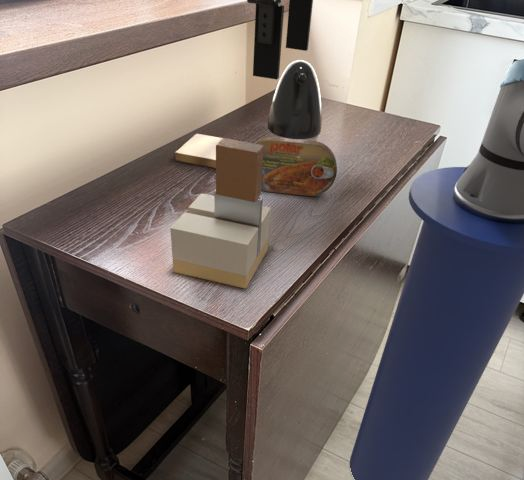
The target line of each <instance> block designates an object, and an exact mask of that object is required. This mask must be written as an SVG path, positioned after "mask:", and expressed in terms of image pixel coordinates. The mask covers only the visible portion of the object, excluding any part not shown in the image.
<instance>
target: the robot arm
mask: <svg viewBox="0 0 524 480" xmlns="http://www.w3.org/2000/svg"><path fill="white" fill-rule="evenodd" d="M246 2H247V4H254V5H255V14H254V15H255V16H254V37H253V63H252V76H253V77H258V78H263V79H272V80H278V79H279V78H280V68H281V55H282V40H283V30H284V29H283V28H284V16H285V15H284V13H285V5H283V4H282V2H283V0H246ZM313 4H314V0H289V3H288V12H287V13H288V15H287V25H286V26H287V27H286V40H285V49H291V50H298V51H305V52H307V51H308V50H309V42H310V41H309V40H310V33H311V32H310V31H311V23H312V13H313ZM504 75H505V76H504V78H503V79H502V82H501V83H500V85H499V86H500V87H499V88H500V89H499V92H498V95H497V97H496V100H495V103H494V106H493V110H492V112H491V115H490V118H489V121H488V123H487V126H486V128H485V131H484V134H483V138H482V140H481V143H480V146H479V149H478V151H477V154H475V157H474V158H473V160H472V161H471V162H470V164H468V165H466V166H465V167H466V169H465V170H464V171H465V172H464V171H463V172H464V173H463V174H462V176H461V177H460V179H459V180H458V181H457V183H456V185H455V188H454V191H453V199H454V201H455V202H456V203H457V204H458V205H459V206H460V207H461V208H462V209H464V210H465V211H467V212H469V213H471V214H473V215H475V216H478V217H480V218H483V219H486V220H490V221H494V222H499V223H506V224H523V223H524V58H521V59H518V60H515V61H514V62H513V63H511V64H510V65H509V67H508V69H507V71H506V73H505V74H504Z"/></svg>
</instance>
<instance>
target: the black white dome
mask: <svg viewBox="0 0 524 480" xmlns="http://www.w3.org/2000/svg"><path fill="white" fill-rule="evenodd" d="M279 78H280V79H279V80H278V83H277V86H276V89H275V92H274V94H273V97H272V101H271V105H270V109H269V113H268V118H267V119H268V120H267V130H268V131H269V137H278V138H287V139H298V140H308V141H318V138H319V135H320V134H321V133H322V126H323V108H322V99H321V98H322V97H321V90H320V84H319V81H318V76H317V74H316V71H315V69H314V67H313V66H312V65H311V63H309V62H308V61H306V60H302V59H301V60H300V59H297V60H294V61H292V62H290V63H289V64H288V65H287V66H286V68H285V70H284V71H283V73H282V75H281V76H280V77H279Z"/></svg>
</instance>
